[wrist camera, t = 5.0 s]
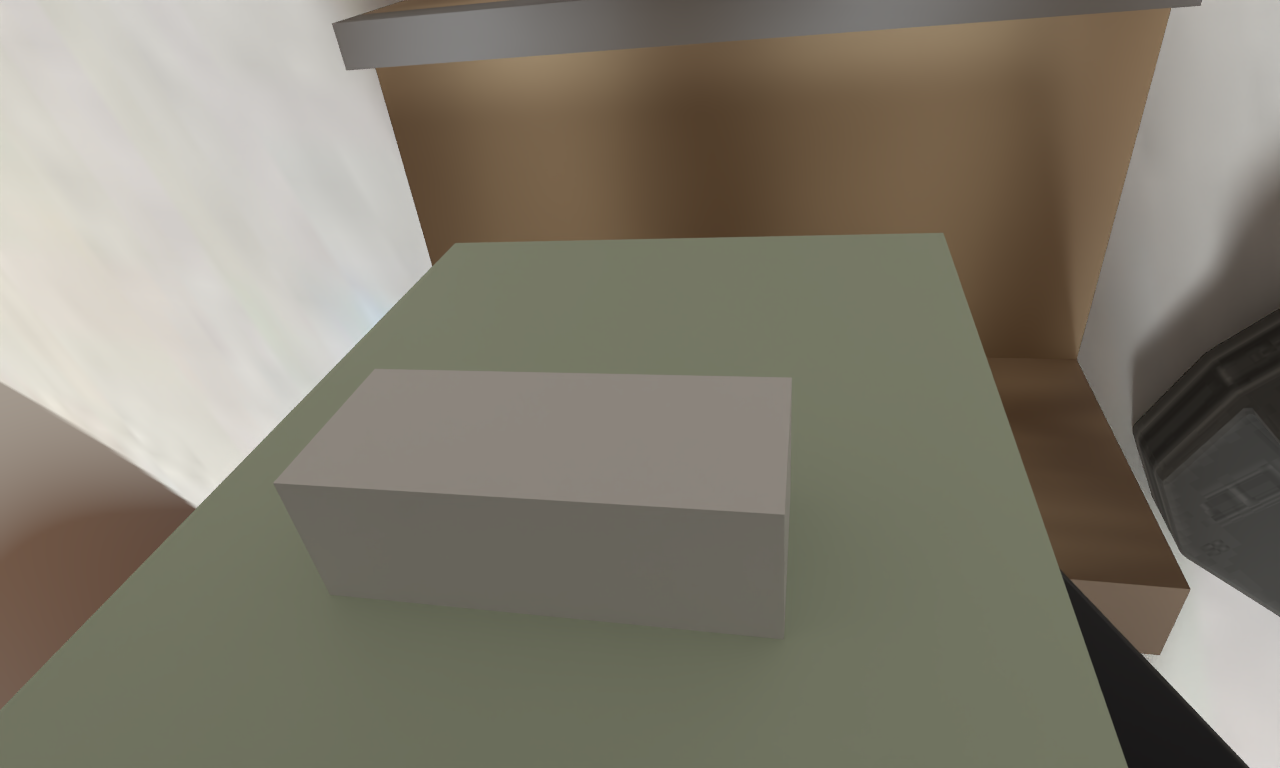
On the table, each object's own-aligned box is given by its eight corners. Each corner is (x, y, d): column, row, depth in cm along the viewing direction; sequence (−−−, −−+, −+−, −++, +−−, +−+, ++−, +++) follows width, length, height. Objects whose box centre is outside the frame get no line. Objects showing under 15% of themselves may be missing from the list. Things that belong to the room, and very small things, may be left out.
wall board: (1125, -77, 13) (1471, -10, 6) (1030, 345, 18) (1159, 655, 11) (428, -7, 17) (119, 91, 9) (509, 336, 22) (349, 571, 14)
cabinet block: (955, 146, 6) (1354, 960, 2) (896, 588, 10) (973, 1302, 5) (436, 171, 8) (-235, 699, 3) (538, 560, 11) (312, 1119, 6)
